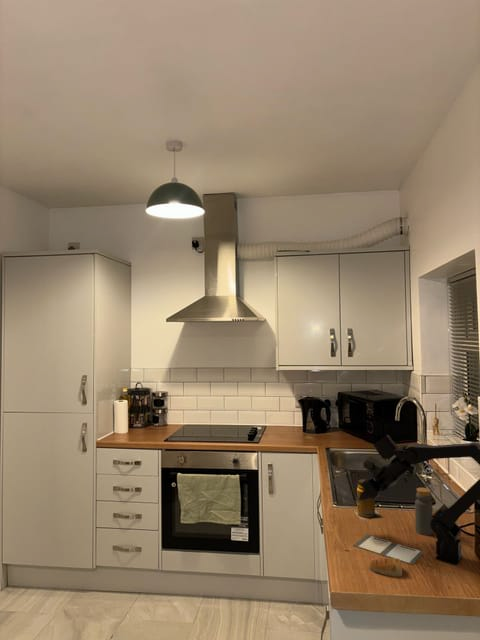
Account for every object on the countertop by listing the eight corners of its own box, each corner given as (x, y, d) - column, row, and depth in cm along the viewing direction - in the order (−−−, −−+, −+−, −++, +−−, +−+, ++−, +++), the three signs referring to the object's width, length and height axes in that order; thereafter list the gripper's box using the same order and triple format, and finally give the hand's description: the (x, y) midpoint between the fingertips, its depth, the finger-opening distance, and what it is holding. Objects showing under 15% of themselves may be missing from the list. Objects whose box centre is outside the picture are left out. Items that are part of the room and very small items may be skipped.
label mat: (424, 552, 150) (424, 551, 150) (412, 565, 141) (412, 564, 141) (367, 534, 163) (367, 534, 163) (352, 545, 154) (352, 545, 154)
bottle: (435, 531, 165) (434, 489, 166) (429, 536, 161) (428, 493, 161) (419, 526, 169) (418, 485, 170) (412, 531, 165) (412, 489, 165)
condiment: (353, 512, 165) (352, 478, 166) (375, 510, 167) (375, 477, 167) (361, 520, 158) (360, 485, 159) (384, 518, 159) (383, 483, 160)
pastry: (370, 575, 136) (370, 562, 136) (368, 564, 143) (368, 551, 143) (403, 578, 134) (403, 565, 134) (400, 567, 141) (400, 554, 141)
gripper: (387, 445, 167) (359, 470, 174) (366, 456, 153) (337, 483, 160) (409, 471, 162) (380, 496, 169) (390, 485, 148) (358, 511, 154)
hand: (363, 496), depth 163 cm, fingers closed on condiment, 6 cm apart
